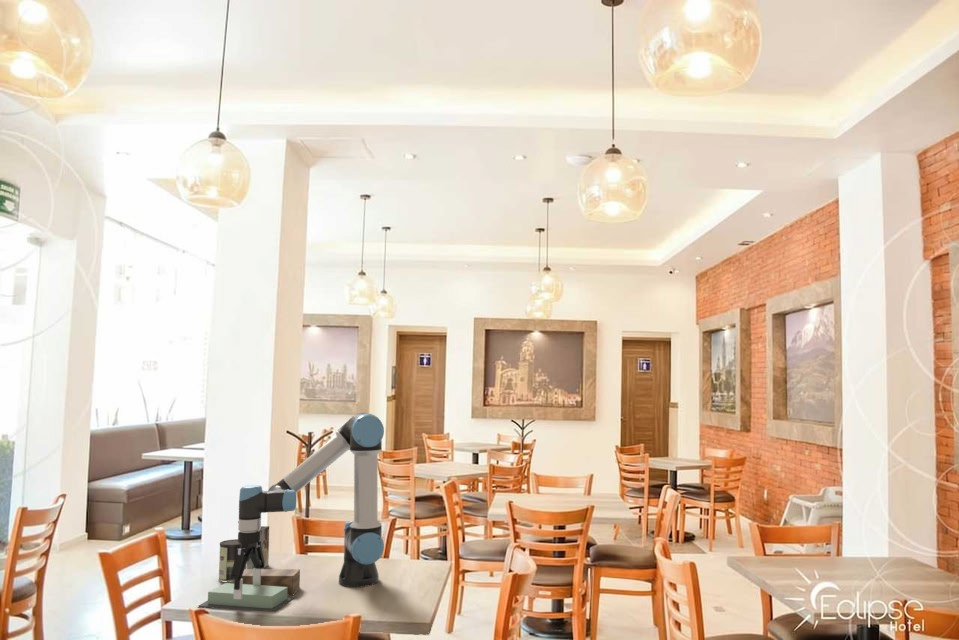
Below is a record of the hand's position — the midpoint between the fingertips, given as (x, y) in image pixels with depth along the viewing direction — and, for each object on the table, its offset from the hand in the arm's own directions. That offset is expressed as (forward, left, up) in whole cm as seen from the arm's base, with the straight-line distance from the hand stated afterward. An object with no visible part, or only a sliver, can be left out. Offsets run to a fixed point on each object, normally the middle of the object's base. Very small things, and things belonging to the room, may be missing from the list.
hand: (247, 593), depth 242 cm
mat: (0, 0, -3) cm, 3 cm away
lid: (0, 0, -3) cm, 3 cm away
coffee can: (+20, -27, -3) cm, 34 cm away
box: (0, -14, -4) cm, 14 cm away
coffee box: (+18, -44, -3) cm, 48 cm away
